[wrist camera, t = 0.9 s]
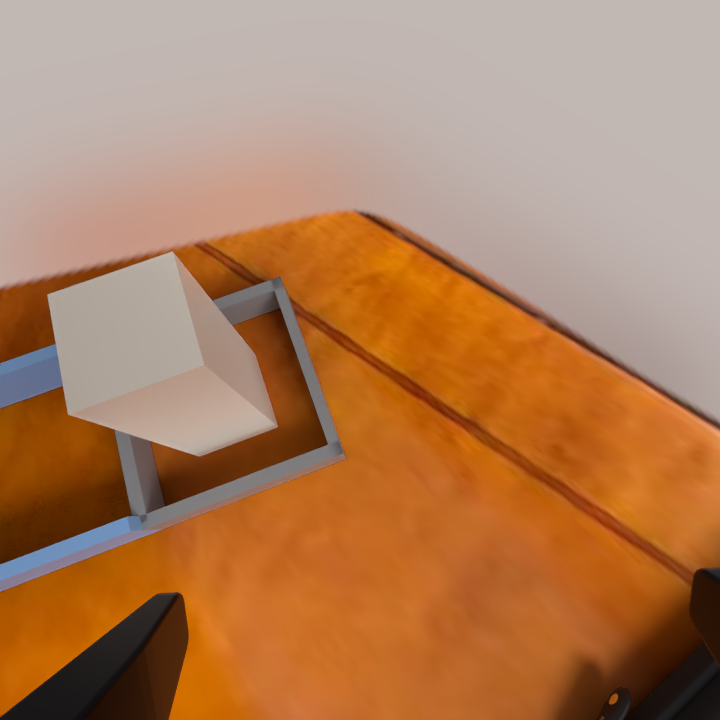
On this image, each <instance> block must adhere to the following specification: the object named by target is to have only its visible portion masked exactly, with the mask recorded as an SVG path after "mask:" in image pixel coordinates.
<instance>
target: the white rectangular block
mask: <svg viewBox="0 0 720 720" xmlns="http://www.w3.org/2000/svg"><path fill="white" fill-rule="evenodd" d="M47 296H48V302H49V308H50V313H51V319H52V325H53V331H54V337H55V342H56V348H57V354H58V360H59V366H60V371H61V377H62V383H63V389H64V395H65V400H66V406H67V412H68V415H71V416H74V417H77V418H80V419H83V420H86V421H90V422H93V423H96V424H99V425H102V426H105V427H108V428H111V429H114V430H118V431H121V432H124V433H127V434H130V435H133V436H136V437H139V438H143V439H146V440H149V441H152V442H155V443H158V444H161V445H164V446H167V447H171V448H174V449H177V450H180V451H183V452H186V453H189V454H192V455H196V456H199V457H201V456H203V455H206V454H209V453H211V452H214V451H217V450H219V449H222V448H225V447H227V446H230V445H233V444H235V443H238V442H241V441H243V440H246V439H249V438H251V437H254V436H257V435H259V434H262V433H265V432H267V431H270V430H273V429H275V428H278V424H277V421H276V417H275V414H274V411H273V408H272V405H271V402H270V399H269V395H268V392H267V389H266V386H265V383H264V380H263V377H262V374H261V370H260V367H259V364H258V361H257V358H256V355H255V353H254V352H253V351H252V350H251V348H250V347H249V346H248V345H247V343H246V342H245V341H244V340H243V338H242V337H241V336H240V335H239V333H238V332H237V331H236V330H235V328H234V327H233V326H232V325H231V324H230V322H229V321H228V320H227V319H226V317H225V316H224V315H223V314H222V312H221V311H220V310H219V309H218V307H217V306H216V305H215V304H214V302H213V301H212V300H211V299H210V297H209V296H208V295H207V294H206V292H205V291H204V290H203V289H202V287H201V286H200V285H199V284H198V282H197V281H196V280H195V279H194V277H193V276H192V275H191V274H190V272H189V271H188V270H187V269H186V267H185V266H184V265H183V264H182V262H181V261H180V260H179V259H178V257H177V256H176V255H175V254H174V252H173V251H172V252H169V253H166V254H163V255H161V256H158V257H155V258H152V259H149V260H146V261H143V262H140V263H137V264H134V265H132V266H129V267H126V268H123V269H120V270H117V271H114V272H111V273H108V274H105V275H103V276H100V277H97V278H94V279H91V280H88V281H85V282H82V283H79V284H76V285H74V286H71V287H68V288H65V289H62V290H59V291H56V292H53V293H50V294H47Z"/></svg>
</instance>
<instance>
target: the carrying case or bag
mask: <svg viewBox="0 0 720 720" xmlns="http://www.w3.org/2000/svg"><path fill="white" fill-rule="evenodd" d="M630 703H631V695H630V692H629V691H628V690H627V689H626V688H622V687H620V688H617V689H616V690H615V691H614V692H613V693H612V694H611V695H610V696H609V698H608V699H607V701H606V703H605V705H604V707H603V709H602V711H601V713H600V715H599V717H598V719H597V720H623V719H624V718H625V716H626V714H627V712H628V710H629V707H630ZM624 720H720V667H719V666H718V664H717V662H716V661H715V659H714V657H713V656H712V654H711V652H710V651H709V649H708V647H707V646H706V644H705V643H703V644H702V645H701V646H700V647H698V648H697V649H696V650H695V651H694V652H693V653H692V654H691V655H690V656H689V657H688V658H687V659H686V660H685V661H684V662H683V663H682V664H681V665H680V666H679V667H678V668H677V669H676V670H675V671H674V672H673V673H672V674H671V675H670V676H669V677H668V678H667V679H666V680H665V681H663V682H662V683H661V684H660V685H659V686H658V687H657V688H656V689H655V690H654V691H653V692H652V693H651V694H650V695H649V696H648V697H647V698H646V699H645V700H644V701H643V702H642V703H641V704H640V705H639V706H638V707H637V708H636V709H635V710H634V711H633V712H632V713H631V714H629V715H628V716H627V717H626V718H625V719H624Z"/></svg>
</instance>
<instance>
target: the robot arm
mask: <svg viewBox="0 0 720 720" xmlns="http://www.w3.org/2000/svg"><path fill="white" fill-rule="evenodd" d="M689 614H690V617H691V620H692V622H693V624H694V626H695V628H696V629H697V631H698V633H699V634H700V636H701V638H702V639H703V641H704V643H705V644H706V646H707V647H708V649H709V651H710V652H711V654H712V656H713V657H714V659H715V661H716V662H717V664H718V666H719V667H720V568H701V569H698V570H697V571H696V572H695V573H694V576H693V583H692V589H691V596H690V603H689ZM188 637H189V633H188V625H187V618H186V611H185V604H184V599H183V596H182V594H180V593H178V592H174V593H159V594H156V595H155V596H153V597H152V598H151V599H149V600H148V601H147V602H146V603H144V604H143V605H142V606H140V607H139V608H138V609H137V610H135V611H134V612H133V613H132V614H130V615H129V616H128V617H127V618H125V619H124V620H123V621H121V622H120V623H119V624H118V625H116V626H115V627H114V628H113V629H111V630H110V631H109V632H108V633H106V634H105V635H104V636H102V637H101V638H100V639H99V640H97V641H96V642H95V643H94V644H92V645H91V646H90V647H88V648H87V649H86V650H85V651H83V652H82V653H81V654H80V655H78V656H77V657H76V658H75V659H73V660H72V661H71V662H69V663H68V664H67V665H66V666H64V667H63V668H62V669H61V670H59V671H58V672H57V673H56V674H54V675H53V676H52V677H50V678H49V679H48V680H47V681H45V682H44V683H43V684H42V685H40V686H39V687H38V688H37V689H35V690H34V691H33V692H31V693H30V694H29V695H28V696H26V697H25V698H24V699H23V700H21V701H20V702H19V703H17V704H16V705H15V706H14V707H12V708H11V709H10V710H9V711H7V712H6V713H5V714H4V715H2V716H1V717H0V720H169V716H170V712H171V708H172V704H173V700H174V697H175V693H176V689H177V685H178V681H179V677H180V673H181V669H182V666H183V662H184V658H185V654H186V650H187V646H188Z"/></svg>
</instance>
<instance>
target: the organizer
mask: <svg viewBox="0 0 720 720" xmlns="http://www.w3.org/2000/svg"><path fill="white" fill-rule="evenodd" d="M212 301H213V302H214V304H215V305H216V306H217V307H218V309H219V310H220V311H221V312H222V314H223V315H224V316H225V317H226V319H227V320H228V321H229V322H230V324H231V325H234V324H237V323H240V322H243V321H246V320H248V319H251V318H254V317H257V316H260V315H262V314H265V313H268V312H271V311H274V310H276V309H279V308H281V311H282V314H283V317H284V320H285V323H286V325H287V328H288V331H289V334H290V337H291V340H292V343H293V345H294V348H295V351H296V354H297V357H298V360H299V363H300V366H301V368H302V371H303V374H304V377H305V380H306V383H307V386H308V388H309V391H310V394H311V397H312V400H313V403H314V406H315V408H316V411H317V414H318V417H319V420H320V423H321V426H322V429H323V431H324V434H325V437H326V440H327V443H328V445H326V446H323V447H320V448H318V449H315V450H312V451H310V452H307V453H305V454H302V455H299V456H297V457H294V458H291V459H289V460H286V461H284V462H281V463H278V464H276V465H273V466H270V467H268V468H265V469H263V470H260V471H257V472H255V473H252V474H249V475H247V476H244V477H242V478H239V479H236V480H234V481H231V482H228V483H226V484H223V485H221V486H218V487H215V488H213V489H210V490H207V491H205V492H202V493H199V494H197V495H194V496H192V497H189V498H186V499H184V500H181V501H178V502H176V503H173V504H171V505H168V506H165V504H164V500H163V495H162V491H161V486H160V482H159V477H158V473H157V469H156V464H155V460H154V455H153V451H152V447H151V442H150V441H149V440H146V439H143V438H139V437H136V436H133V435H130V434H127V433H124V432H121V431H118V430H115V435H116V440H117V445H118V450H119V455H120V460H121V465H122V470H123V474H124V479H125V484H126V489H127V494H128V499H129V504H130V509H131V514H132V516H127V517H124V518H122V519H119V520H116V521H114V522H111V523H109V524H106V525H103V526H101V527H98V528H95V529H93V530H90V531H88V532H85V533H82V534H80V535H77V536H74V537H72V538H69V539H66V540H64V541H61V542H59V543H56V544H53V545H51V546H48V547H45V548H43V549H40V550H38V551H35V552H32V553H30V554H27V555H24V556H22V557H19V558H16V559H14V560H11V561H9V562H6V563H3V564H1V565H0V592H1V591H4V590H6V589H9V588H11V587H14V586H17V585H19V584H22V583H24V582H27V581H30V580H32V579H35V578H37V577H40V576H43V575H45V574H48V573H50V572H53V571H56V570H58V569H61V568H63V567H66V566H69V565H71V564H74V563H77V562H79V561H82V560H84V559H87V558H90V557H92V556H95V555H97V554H100V553H103V552H105V551H108V550H110V549H113V548H116V547H118V546H121V545H123V544H126V543H129V542H131V541H134V540H136V539H139V538H142V537H144V536H147V535H149V534H152V533H155V532H157V531H160V530H163V529H165V528H168V527H170V526H173V525H176V524H178V523H181V522H183V521H186V520H189V519H191V518H194V517H196V516H199V515H202V514H204V513H207V512H209V511H212V510H215V509H217V508H220V507H222V506H225V505H228V504H230V503H233V502H236V501H238V500H241V499H243V498H246V497H249V496H251V495H254V494H256V493H259V492H262V491H264V490H267V489H269V488H272V487H275V486H277V485H280V484H282V483H285V482H288V481H290V480H293V479H295V478H298V477H301V476H303V475H306V474H308V473H311V472H314V471H316V470H319V469H322V468H324V467H327V466H329V465H332V464H335V463H337V462H340V461H342V460H345V459H347V457H346V455H345V452H344V449H343V446H342V443H341V441H340V438H339V435H338V432H337V429H336V427H335V424H334V421H333V418H332V416H331V413H330V410H329V407H328V404H327V402H326V399H325V396H324V393H323V390H322V388H321V385H320V382H319V379H318V377H317V374H316V371H315V368H314V365H313V363H312V360H311V357H310V354H309V351H308V349H307V346H306V343H305V340H304V337H303V335H302V332H301V329H300V326H299V324H298V321H297V318H296V315H295V312H294V310H293V307H292V304H291V301H290V298H289V296H288V293H287V291H286V289H285V286H284V284H283V282H282V279H281V277H278V278H275V279H272V280H269V281H266V282H263V283H261V284H258V285H255V286H252V287H249V288H246V289H244V290H241V291H238V292H235V293H232V294H229V295H227V296H224V297H221V298H218V299H215V300H212ZM61 386H63V383H62V377H61V371H60V366H59V360H58V354H57V348H56V344H54V345H51V346H48V347H45V348H42V349H40V350H37V351H34V352H31V353H28V354H25V355H23V356H20V357H17V358H14V359H11V360H8V361H5V362H3V363H0V408H3V407H5V406H8V405H11V404H14V403H17V402H19V401H22V400H25V399H28V398H31V397H33V396H36V395H39V394H42V393H45V392H47V391H50V390H53V389H56V388H59V387H61Z"/></svg>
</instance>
